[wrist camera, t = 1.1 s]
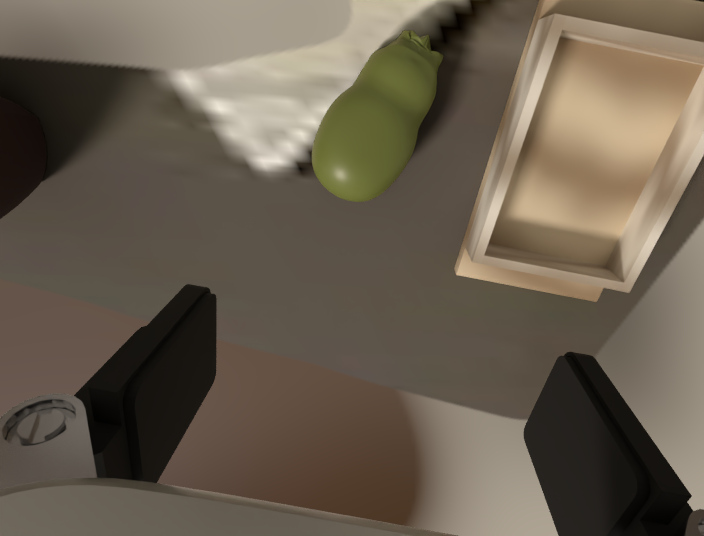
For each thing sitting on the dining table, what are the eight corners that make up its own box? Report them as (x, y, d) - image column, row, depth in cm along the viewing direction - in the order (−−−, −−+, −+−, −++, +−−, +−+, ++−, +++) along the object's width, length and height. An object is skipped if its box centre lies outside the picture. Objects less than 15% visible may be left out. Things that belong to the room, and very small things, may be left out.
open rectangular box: (546, -23, 22) (572, -40, 19) (729, 12, 22) (785, 2, 19) (454, 268, 30) (462, 291, 27) (590, 295, 30) (614, 320, 27)
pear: (288, 172, 22) (387, -7, 20) (300, 167, 27) (380, 25, 25) (374, 225, 23) (479, 59, 21) (370, 211, 28) (454, 77, 26)
